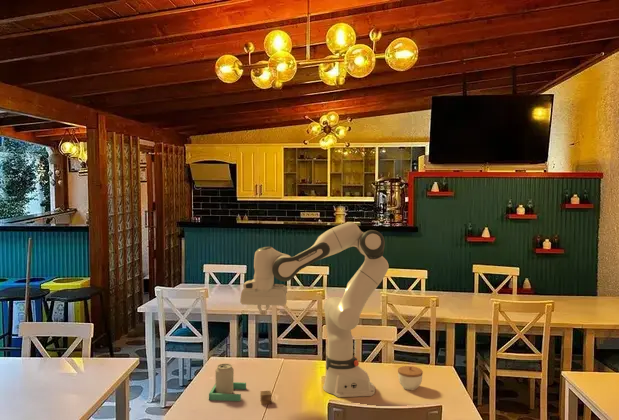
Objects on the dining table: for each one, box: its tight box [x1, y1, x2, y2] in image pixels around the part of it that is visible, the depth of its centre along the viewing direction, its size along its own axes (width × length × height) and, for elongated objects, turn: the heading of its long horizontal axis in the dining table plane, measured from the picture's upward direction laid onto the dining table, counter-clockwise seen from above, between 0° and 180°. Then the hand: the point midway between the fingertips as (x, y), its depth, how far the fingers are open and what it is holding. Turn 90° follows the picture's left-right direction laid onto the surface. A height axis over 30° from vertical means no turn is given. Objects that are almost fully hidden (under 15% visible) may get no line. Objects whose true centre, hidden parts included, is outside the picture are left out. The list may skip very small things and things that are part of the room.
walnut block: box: [259, 390, 272, 406], centre depth 204 cm, size 4×4×4 cm
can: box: [214, 363, 234, 394], centre depth 212 cm, size 8×8×12 cm
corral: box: [208, 381, 247, 402], centre depth 212 cm, size 13×13×2 cm
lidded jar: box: [397, 365, 424, 391], centre depth 221 cm, size 11×11×9 cm
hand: (263, 314), depth 221 cm, fingers closed
